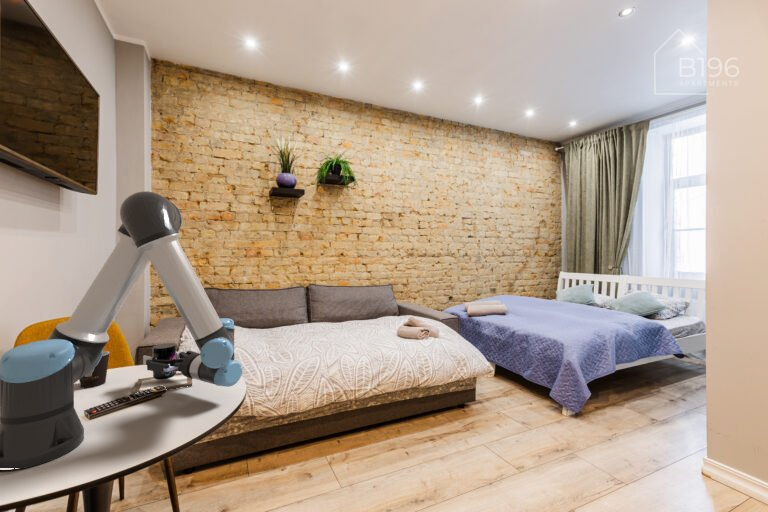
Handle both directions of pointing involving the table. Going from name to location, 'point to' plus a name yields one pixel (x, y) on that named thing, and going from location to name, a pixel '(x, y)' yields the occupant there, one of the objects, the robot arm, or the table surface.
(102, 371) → the coffee mug
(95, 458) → the table surface
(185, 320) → the robot arm
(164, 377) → the supplement container
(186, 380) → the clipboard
